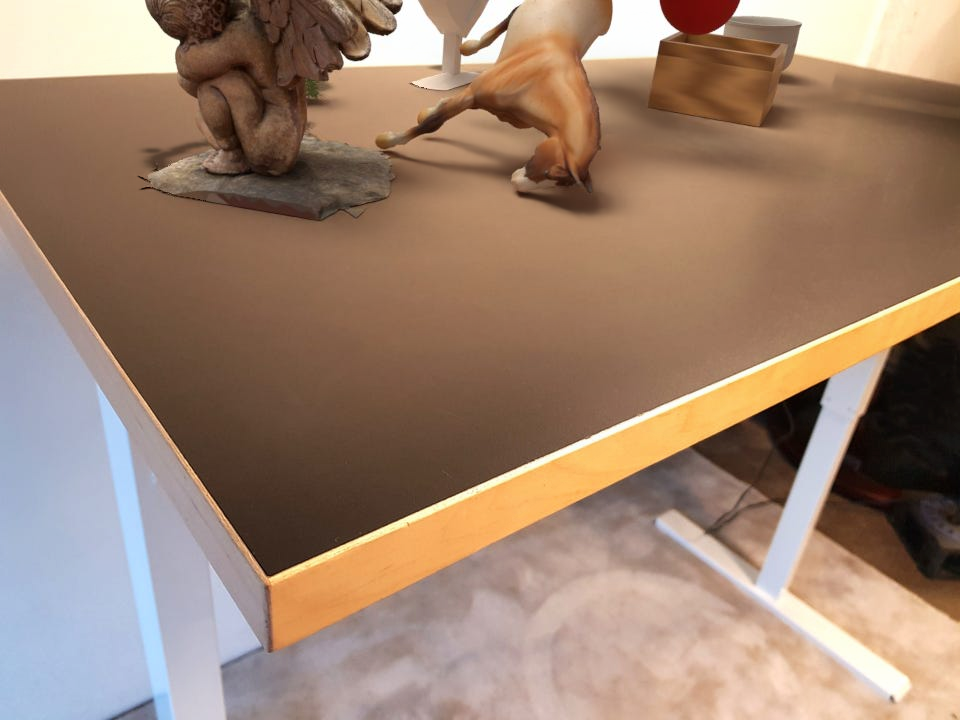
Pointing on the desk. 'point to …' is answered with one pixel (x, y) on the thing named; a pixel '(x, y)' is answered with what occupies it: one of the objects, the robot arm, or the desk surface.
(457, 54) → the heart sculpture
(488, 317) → the desk surface
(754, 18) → the teacup
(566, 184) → the horse figurine
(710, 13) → the christmas ornament
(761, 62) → the wooden box
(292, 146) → the cherub figurine
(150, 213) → the desk surface
